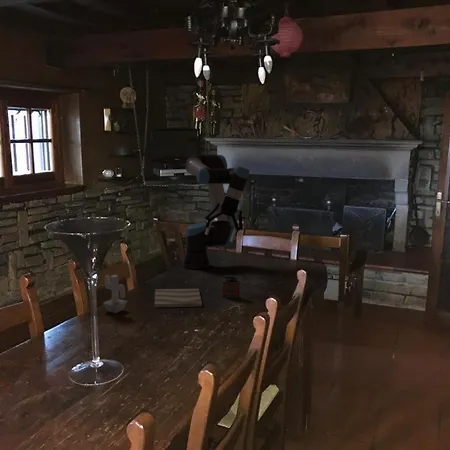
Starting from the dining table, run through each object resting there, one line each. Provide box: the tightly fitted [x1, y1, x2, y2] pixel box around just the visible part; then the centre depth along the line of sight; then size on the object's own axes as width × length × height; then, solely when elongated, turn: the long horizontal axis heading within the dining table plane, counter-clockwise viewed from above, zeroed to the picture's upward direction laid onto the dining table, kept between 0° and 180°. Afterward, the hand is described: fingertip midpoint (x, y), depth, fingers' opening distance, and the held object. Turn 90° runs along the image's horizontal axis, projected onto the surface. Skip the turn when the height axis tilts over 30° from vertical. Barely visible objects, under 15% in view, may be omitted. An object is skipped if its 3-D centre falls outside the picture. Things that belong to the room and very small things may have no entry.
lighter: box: [221, 275, 241, 299], centre depth 227 cm, size 8×3×10 cm, turn 84°
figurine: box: [102, 274, 128, 314], centre depth 206 cm, size 7×9×15 cm
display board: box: [154, 288, 203, 308], centre depth 223 cm, size 20×20×2 cm
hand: (218, 238), depth 248 cm, fingers open, 13 cm apart
